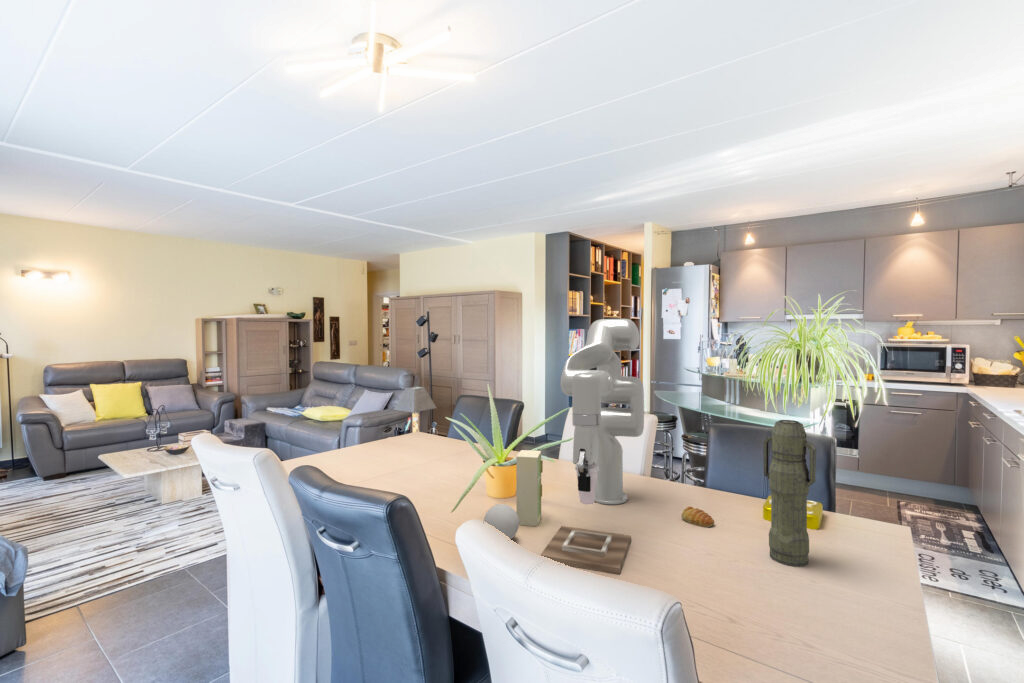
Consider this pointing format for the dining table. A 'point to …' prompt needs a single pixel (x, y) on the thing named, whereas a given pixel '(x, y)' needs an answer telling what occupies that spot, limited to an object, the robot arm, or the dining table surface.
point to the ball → (503, 519)
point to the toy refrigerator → (529, 487)
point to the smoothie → (590, 496)
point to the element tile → (812, 513)
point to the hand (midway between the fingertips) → (587, 486)
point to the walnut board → (588, 549)
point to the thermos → (789, 492)
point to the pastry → (697, 517)
